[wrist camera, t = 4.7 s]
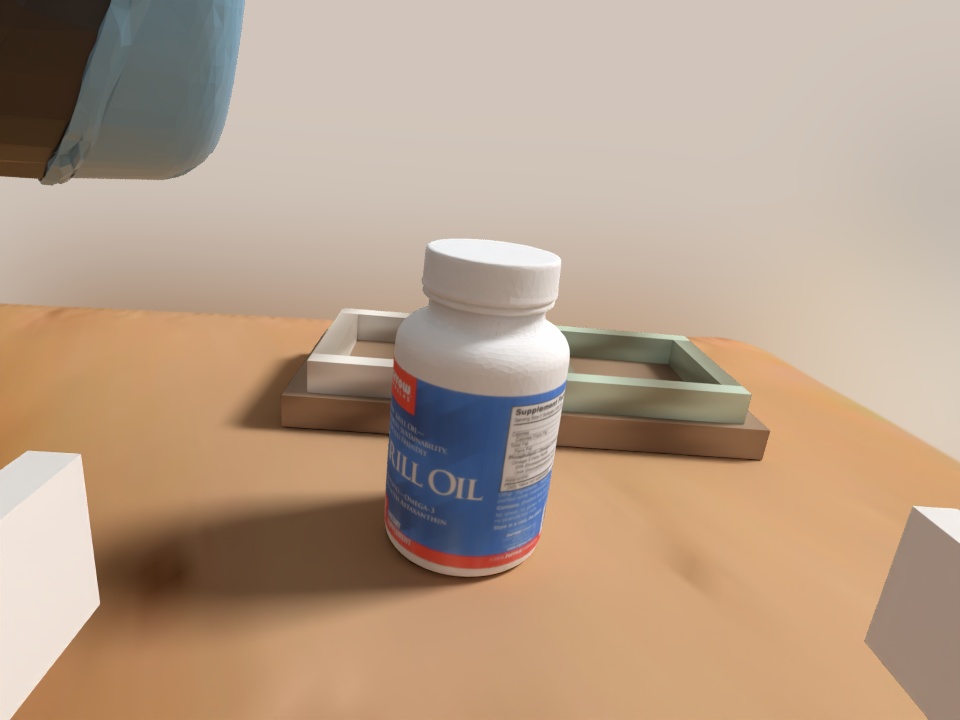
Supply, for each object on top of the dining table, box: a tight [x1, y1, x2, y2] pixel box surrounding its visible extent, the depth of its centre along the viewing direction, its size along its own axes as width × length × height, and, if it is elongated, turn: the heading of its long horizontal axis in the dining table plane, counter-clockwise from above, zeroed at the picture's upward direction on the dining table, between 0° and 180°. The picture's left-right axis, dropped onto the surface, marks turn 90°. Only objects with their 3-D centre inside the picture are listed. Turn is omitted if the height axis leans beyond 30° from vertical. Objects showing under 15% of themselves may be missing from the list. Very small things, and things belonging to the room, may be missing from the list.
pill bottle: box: [384, 239, 570, 577], centre depth 20 cm, size 6×5×10 cm
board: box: [281, 308, 770, 460], centre depth 32 cm, size 22×10×3 cm, turn 92°
